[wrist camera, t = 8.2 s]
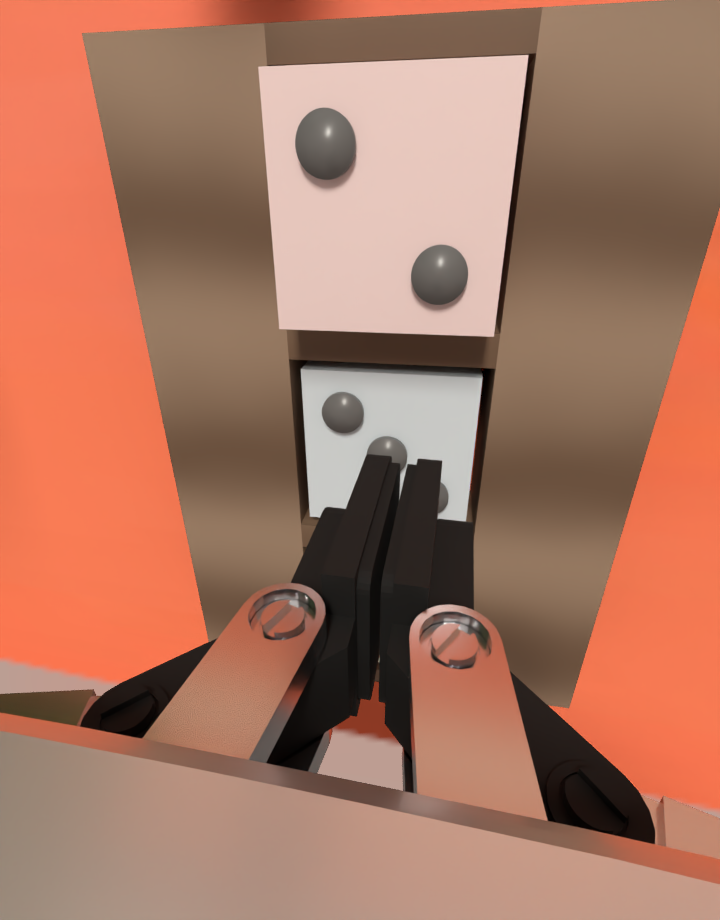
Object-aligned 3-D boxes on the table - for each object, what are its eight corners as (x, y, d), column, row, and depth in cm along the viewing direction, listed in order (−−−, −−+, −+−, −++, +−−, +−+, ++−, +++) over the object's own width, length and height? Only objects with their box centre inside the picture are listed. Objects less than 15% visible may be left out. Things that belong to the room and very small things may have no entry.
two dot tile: (294, 90, 12) (254, 64, 9) (513, 82, 11) (529, 52, 9) (306, 307, 14) (276, 330, 12) (487, 313, 13) (494, 339, 11)
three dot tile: (321, 345, 16) (298, 371, 14) (478, 351, 15) (482, 380, 13) (326, 478, 19) (308, 520, 16) (463, 489, 18) (464, 534, 15)
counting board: (153, 63, 14) (82, 33, 11) (709, 38, 12) (784, -7, 9) (239, 606, 23) (212, 658, 20) (554, 644, 21) (569, 707, 18)
